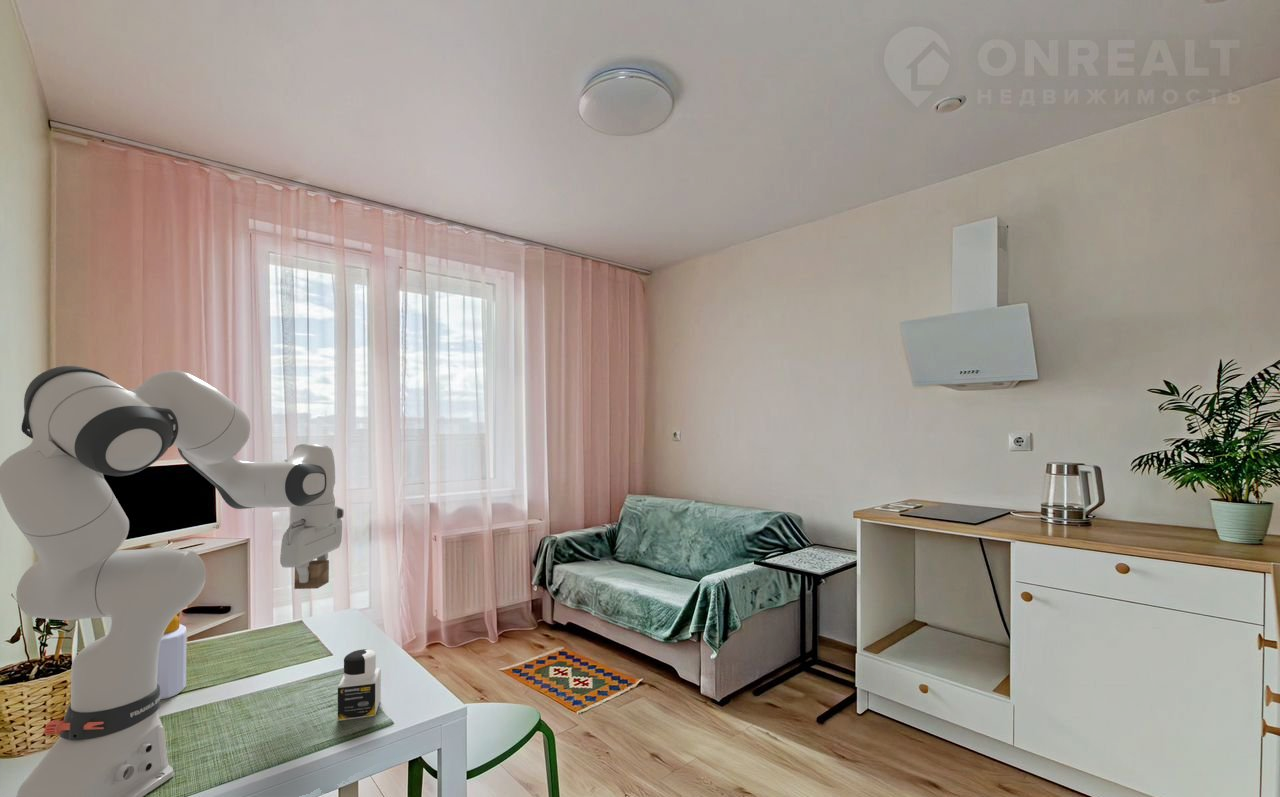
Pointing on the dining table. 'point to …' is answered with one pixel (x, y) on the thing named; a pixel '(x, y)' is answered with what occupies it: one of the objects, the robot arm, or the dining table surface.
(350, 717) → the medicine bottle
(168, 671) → the soap bottle
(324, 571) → the walnut cube
